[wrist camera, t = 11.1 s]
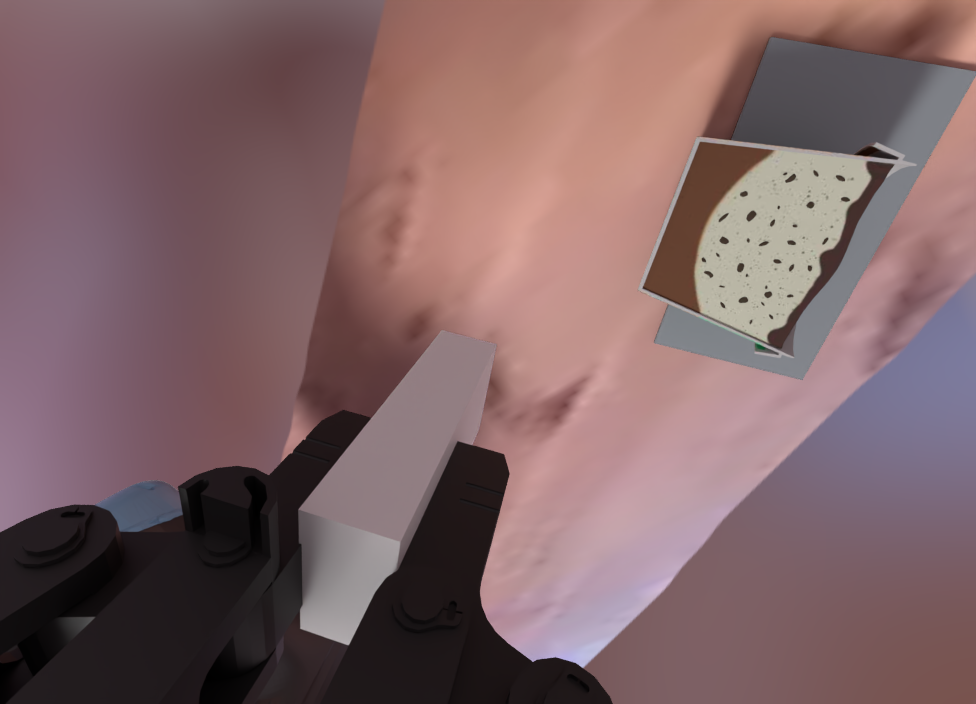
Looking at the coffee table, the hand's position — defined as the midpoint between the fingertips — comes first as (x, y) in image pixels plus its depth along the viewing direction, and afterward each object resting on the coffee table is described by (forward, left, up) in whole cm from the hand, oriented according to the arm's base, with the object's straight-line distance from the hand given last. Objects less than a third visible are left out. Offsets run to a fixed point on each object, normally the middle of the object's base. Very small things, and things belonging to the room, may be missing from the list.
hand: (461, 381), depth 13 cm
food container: (+7, +3, -23) cm, 24 cm away
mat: (+15, +3, -24) cm, 29 cm away
